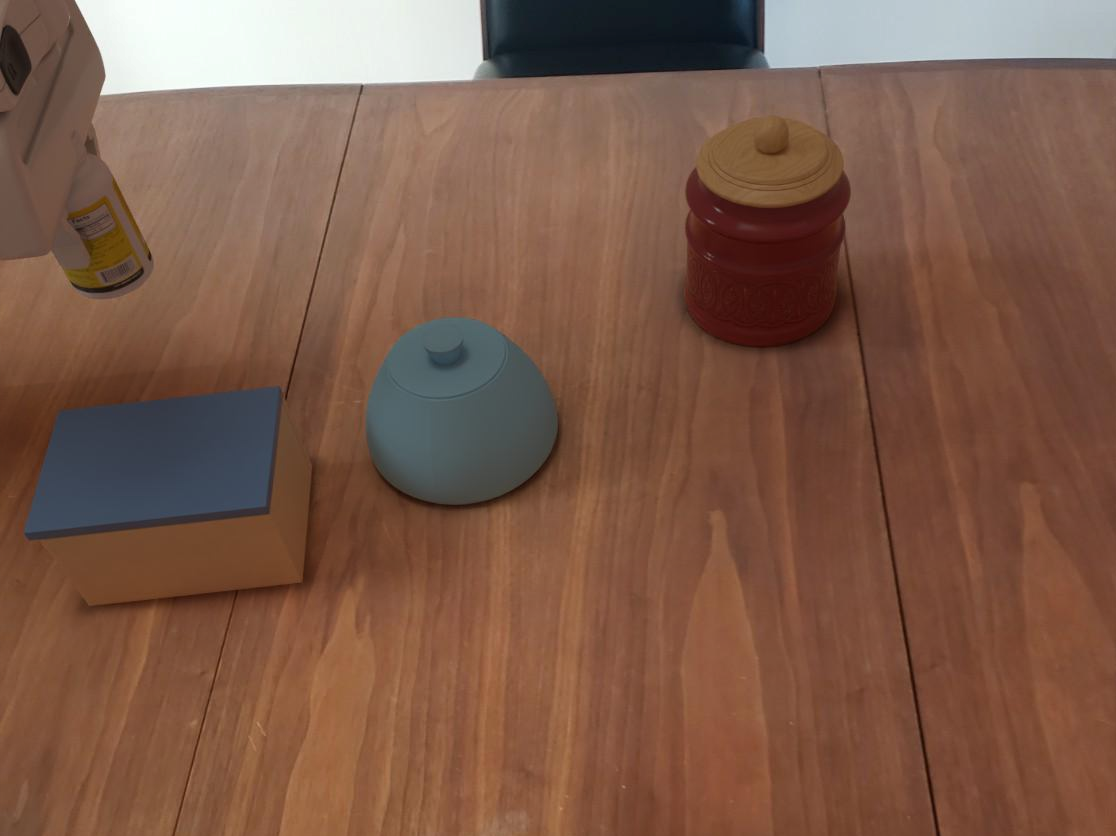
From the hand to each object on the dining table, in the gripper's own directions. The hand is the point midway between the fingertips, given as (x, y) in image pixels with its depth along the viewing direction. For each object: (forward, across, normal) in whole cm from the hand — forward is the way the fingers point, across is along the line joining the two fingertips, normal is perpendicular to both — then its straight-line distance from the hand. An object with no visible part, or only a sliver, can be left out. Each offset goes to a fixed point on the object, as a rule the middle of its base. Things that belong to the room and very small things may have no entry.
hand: (89, 229), depth 68 cm
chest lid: (+14, +7, 0) cm, 16 cm away
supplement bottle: (+4, 0, 0) cm, 4 cm away
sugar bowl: (+23, 0, +20) cm, 31 cm away
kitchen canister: (+24, -13, +46) cm, 54 cm away
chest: (+23, +7, 0) cm, 24 cm away
